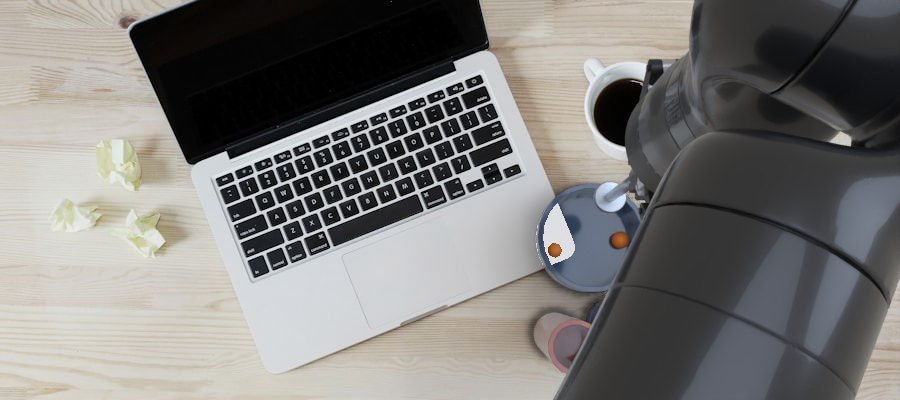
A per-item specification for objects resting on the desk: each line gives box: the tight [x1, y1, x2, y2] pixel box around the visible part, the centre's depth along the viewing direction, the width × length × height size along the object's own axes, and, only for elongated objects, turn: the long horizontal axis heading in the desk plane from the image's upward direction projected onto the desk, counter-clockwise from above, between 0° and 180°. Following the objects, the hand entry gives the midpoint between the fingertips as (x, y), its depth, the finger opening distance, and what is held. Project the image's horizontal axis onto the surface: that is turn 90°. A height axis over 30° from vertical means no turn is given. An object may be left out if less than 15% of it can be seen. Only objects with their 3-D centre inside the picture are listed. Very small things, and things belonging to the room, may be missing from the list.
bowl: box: [536, 183, 641, 293], centre depth 86 cm, size 12×12×5 cm
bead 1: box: [548, 243, 562, 258], centre depth 87 cm, size 2×2×2 cm
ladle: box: [593, 169, 637, 213], centre depth 62 cm, size 3×3×20 cm
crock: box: [533, 312, 592, 375], centre depth 77 cm, size 5×5×20 cm
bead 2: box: [612, 231, 629, 249], centre depth 86 cm, size 2×2×2 cm
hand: (641, 175), depth 57 cm, fingers closed on ladle, 1 cm apart
